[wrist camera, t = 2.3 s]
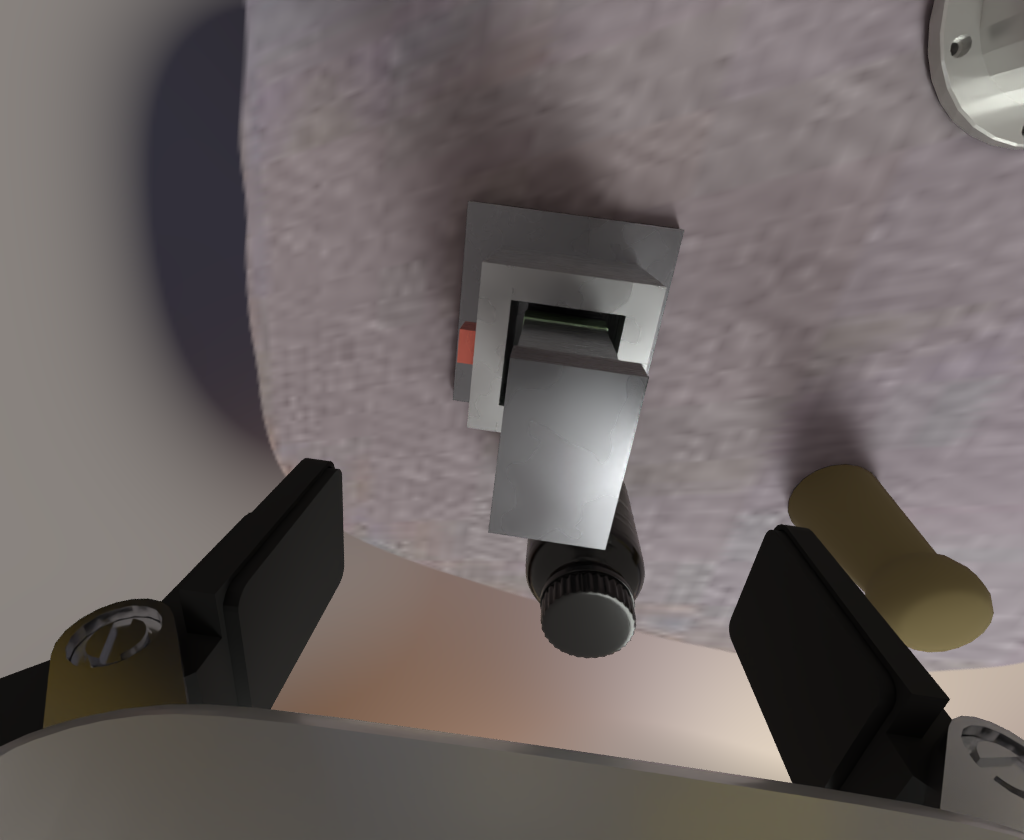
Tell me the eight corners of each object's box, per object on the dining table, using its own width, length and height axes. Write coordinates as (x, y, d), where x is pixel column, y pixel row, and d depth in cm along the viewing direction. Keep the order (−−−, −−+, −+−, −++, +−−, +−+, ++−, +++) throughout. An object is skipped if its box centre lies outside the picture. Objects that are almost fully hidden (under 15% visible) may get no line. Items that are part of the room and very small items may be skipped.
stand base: (470, 200, 28) (435, 201, 20) (680, 229, 28) (732, 241, 19) (455, 394, 33) (422, 458, 25) (632, 419, 33) (658, 493, 24)
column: (533, 271, 28) (507, 357, 13) (598, 280, 28) (650, 377, 12) (521, 364, 30) (486, 532, 15) (580, 373, 30) (606, 550, 15)
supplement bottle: (517, 468, 35) (500, 590, 24) (610, 440, 33) (636, 556, 22) (549, 542, 37) (547, 683, 26) (637, 519, 36) (673, 658, 25)
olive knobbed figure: (771, 522, 35) (857, 651, 25) (818, 452, 33) (935, 565, 23) (848, 547, 35) (963, 684, 25) (900, 480, 33) (1051, 602, 23)
